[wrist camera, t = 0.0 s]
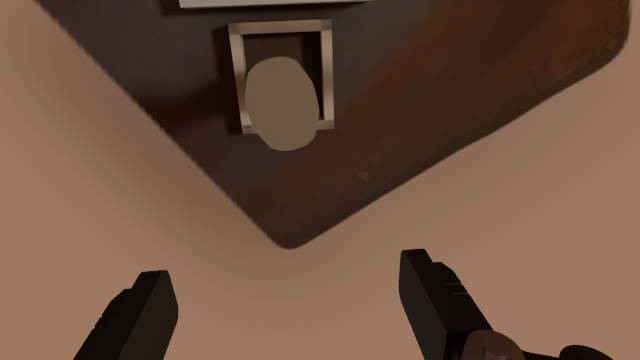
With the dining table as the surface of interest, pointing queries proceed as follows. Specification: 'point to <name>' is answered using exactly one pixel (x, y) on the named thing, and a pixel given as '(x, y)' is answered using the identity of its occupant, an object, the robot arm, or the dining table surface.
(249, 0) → the tray
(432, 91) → the dining table surface
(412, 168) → the dining table surface
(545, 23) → the dining table surface
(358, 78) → the dining table surface
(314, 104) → the handle
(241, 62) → the wooden square frame
